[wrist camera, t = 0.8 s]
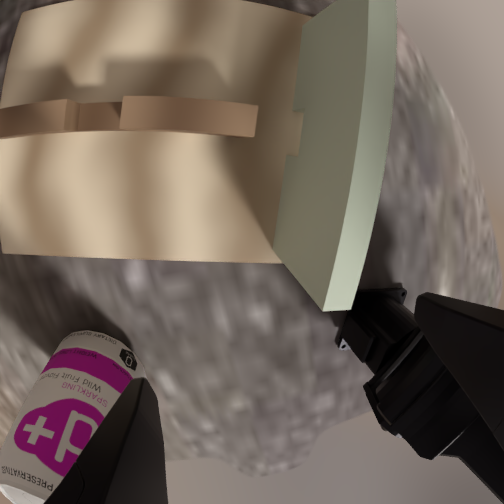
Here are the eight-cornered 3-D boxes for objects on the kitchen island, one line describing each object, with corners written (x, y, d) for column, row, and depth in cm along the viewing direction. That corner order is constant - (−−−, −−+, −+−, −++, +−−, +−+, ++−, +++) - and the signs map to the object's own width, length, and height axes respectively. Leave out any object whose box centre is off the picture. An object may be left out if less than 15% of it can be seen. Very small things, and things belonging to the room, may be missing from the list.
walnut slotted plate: (241, 112, 17) (258, 105, 13) (238, 137, 17) (254, 137, 13) (8, 115, 12) (-24, 114, 9) (6, 138, 13) (-27, 142, 9)
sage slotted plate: (302, 25, 15) (368, -21, 8) (323, 32, 15) (395, -7, 8) (272, 249, 20) (322, 311, 13) (293, 250, 21) (350, 309, 14)
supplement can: (69, 308, 19) (-25, 455, 5) (161, 353, 22) (140, 531, 8) (56, 373, 21) (-1, 499, 7) (133, 409, 23) (113, 549, 9)
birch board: (344, 34, 16) (351, 30, 16) (312, 258, 23) (318, 264, 22) (27, 16, 10) (22, 12, 9) (8, 248, 16) (2, 253, 15)
